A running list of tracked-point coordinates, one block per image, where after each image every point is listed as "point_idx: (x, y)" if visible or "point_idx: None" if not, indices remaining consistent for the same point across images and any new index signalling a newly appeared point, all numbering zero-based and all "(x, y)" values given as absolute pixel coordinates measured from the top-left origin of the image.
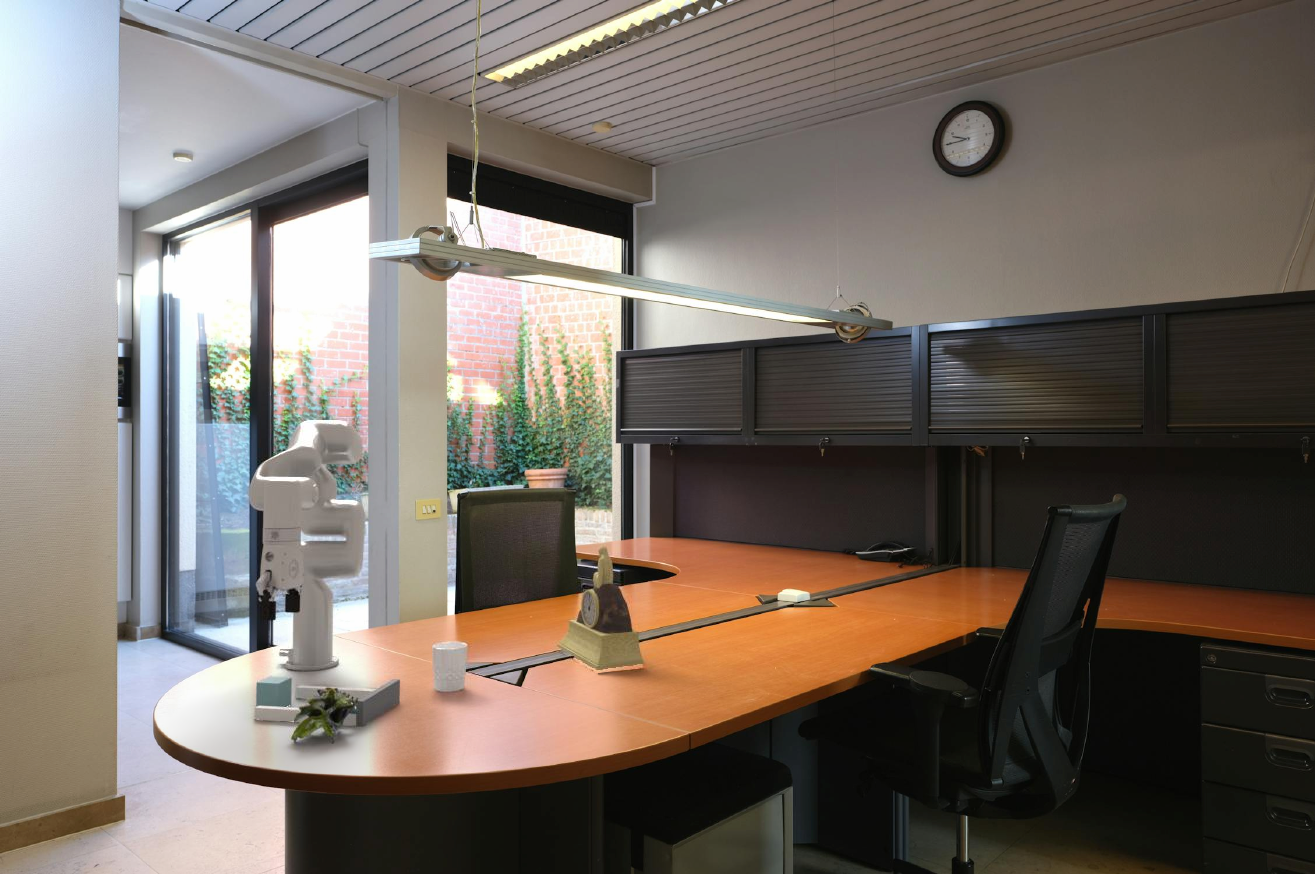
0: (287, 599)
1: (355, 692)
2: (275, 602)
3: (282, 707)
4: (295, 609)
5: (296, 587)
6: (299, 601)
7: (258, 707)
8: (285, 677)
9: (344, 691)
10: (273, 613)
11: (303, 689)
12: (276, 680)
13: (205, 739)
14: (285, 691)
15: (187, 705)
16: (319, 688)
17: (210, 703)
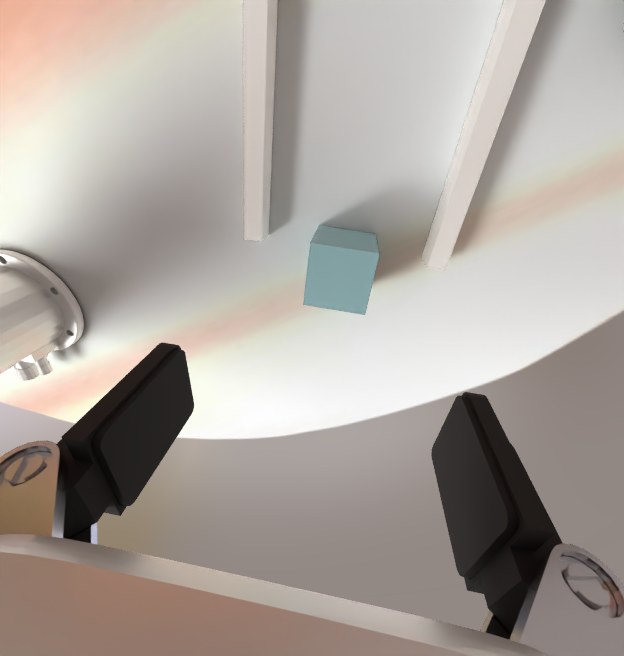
0: (146, 466)
1: (269, 13)
2: (536, 516)
3: (455, 197)
4: (175, 371)
5: (129, 553)
6: (121, 390)
7: (444, 262)
8: (311, 260)
9: (266, 68)
10: (500, 434)
11: (263, 220)
12: (345, 272)
13: (564, 304)
14: (343, 239)
15: (329, 404)
16: (263, 169)
17: (316, 378)
